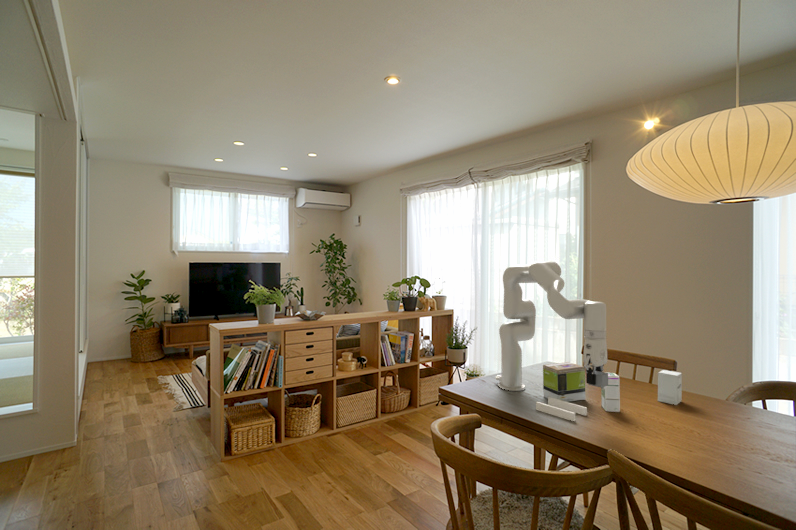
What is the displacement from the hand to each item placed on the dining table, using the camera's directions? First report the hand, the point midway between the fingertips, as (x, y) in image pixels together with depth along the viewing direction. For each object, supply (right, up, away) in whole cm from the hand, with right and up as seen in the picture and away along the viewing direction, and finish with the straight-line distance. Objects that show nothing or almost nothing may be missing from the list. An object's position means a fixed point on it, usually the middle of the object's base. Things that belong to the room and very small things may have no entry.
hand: (594, 382), depth 151 cm
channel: (-8, -15, +10) cm, 20 cm away
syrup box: (+13, -15, +14) cm, 25 cm away
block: (+1, -1, -1) cm, 1 cm away
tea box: (0, -15, +27) cm, 31 cm away
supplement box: (+44, -15, +23) cm, 52 cm away
